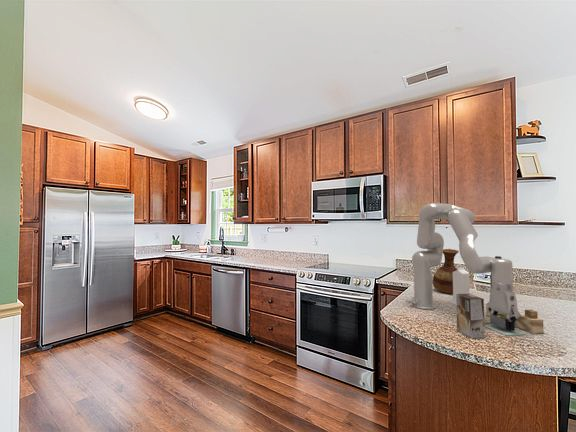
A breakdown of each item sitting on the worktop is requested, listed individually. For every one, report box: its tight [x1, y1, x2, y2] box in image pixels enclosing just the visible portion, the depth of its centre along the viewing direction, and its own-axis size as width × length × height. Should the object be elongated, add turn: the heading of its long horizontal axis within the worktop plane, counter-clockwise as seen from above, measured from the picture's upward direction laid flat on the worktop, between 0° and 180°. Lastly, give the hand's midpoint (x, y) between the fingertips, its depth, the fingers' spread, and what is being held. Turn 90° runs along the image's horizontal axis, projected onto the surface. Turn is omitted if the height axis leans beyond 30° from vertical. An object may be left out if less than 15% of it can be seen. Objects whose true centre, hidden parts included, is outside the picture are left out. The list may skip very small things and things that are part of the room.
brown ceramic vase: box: [432, 248, 460, 295], centre depth 196 cm, size 20×20×30 cm
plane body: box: [485, 304, 545, 335], centre depth 132 cm, size 24×5×9 cm, turn 8°
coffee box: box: [455, 294, 486, 339], centre depth 120 cm, size 9×6×16 cm
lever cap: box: [489, 314, 517, 329], centre depth 125 cm, size 6×7×4 cm
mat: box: [484, 323, 526, 337], centre depth 124 cm, size 9×12×1 cm
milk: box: [452, 266, 470, 306], centre depth 164 cm, size 6×6×22 cm
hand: (502, 326), depth 125 cm, fingers closed on lever cap, 7 cm apart
